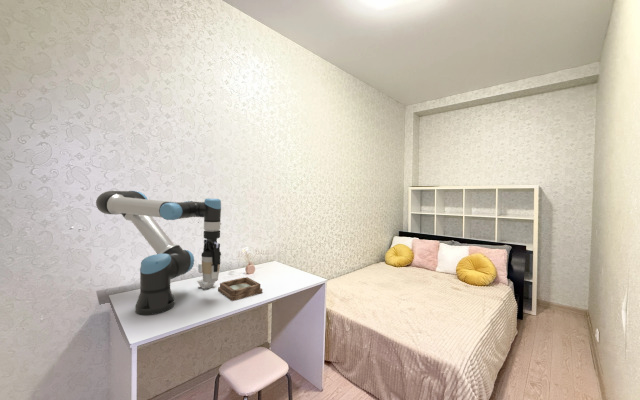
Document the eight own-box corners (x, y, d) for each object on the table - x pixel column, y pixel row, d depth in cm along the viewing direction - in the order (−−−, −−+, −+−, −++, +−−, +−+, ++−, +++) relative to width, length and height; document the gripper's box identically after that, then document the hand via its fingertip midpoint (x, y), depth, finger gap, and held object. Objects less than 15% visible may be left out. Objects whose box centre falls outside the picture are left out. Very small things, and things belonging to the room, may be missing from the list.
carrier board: (232, 301, 129) (232, 292, 129) (218, 291, 141) (218, 282, 141) (262, 292, 141) (262, 284, 141) (246, 284, 153) (246, 276, 153)
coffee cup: (224, 279, 131) (225, 249, 130) (208, 284, 123) (209, 253, 122) (212, 275, 135) (213, 247, 135) (196, 280, 128) (197, 249, 127)
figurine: (217, 286, 148) (218, 260, 148) (202, 291, 141) (202, 263, 140) (210, 283, 152) (211, 257, 152) (194, 287, 145) (195, 261, 144)
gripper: (229, 232, 123) (227, 280, 124) (211, 226, 139) (209, 269, 139) (213, 233, 118) (211, 283, 119) (196, 227, 133) (195, 271, 134)
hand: (210, 275), depth 129 cm, fingers closed on coffee cup, 9 cm apart
